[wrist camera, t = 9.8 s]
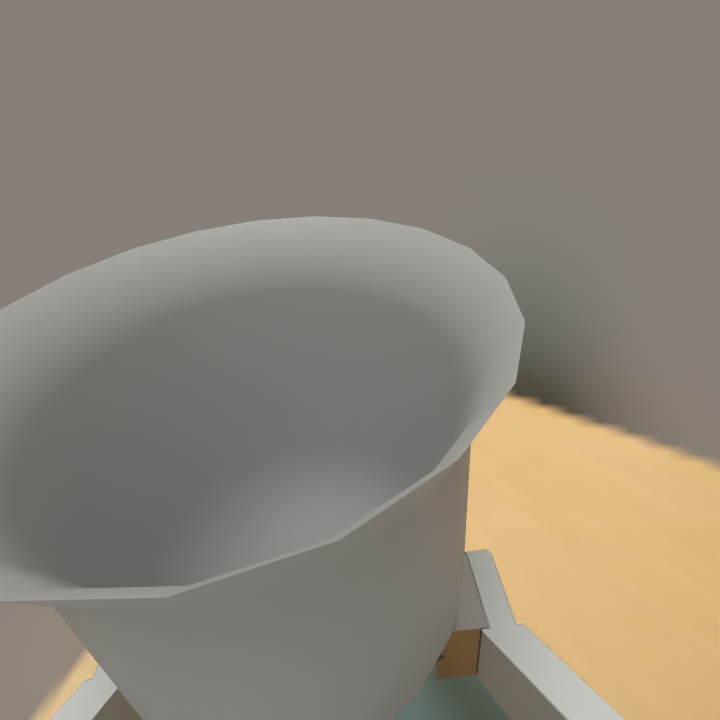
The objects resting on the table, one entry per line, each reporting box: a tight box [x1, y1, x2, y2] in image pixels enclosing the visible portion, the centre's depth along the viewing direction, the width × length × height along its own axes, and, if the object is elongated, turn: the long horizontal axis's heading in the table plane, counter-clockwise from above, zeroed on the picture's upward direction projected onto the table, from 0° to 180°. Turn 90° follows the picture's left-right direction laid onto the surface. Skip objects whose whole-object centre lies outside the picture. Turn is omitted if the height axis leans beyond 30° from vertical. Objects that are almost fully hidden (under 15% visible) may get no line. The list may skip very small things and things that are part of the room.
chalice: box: [0, 216, 525, 720], centre depth 11 cm, size 7×7×18 cm
